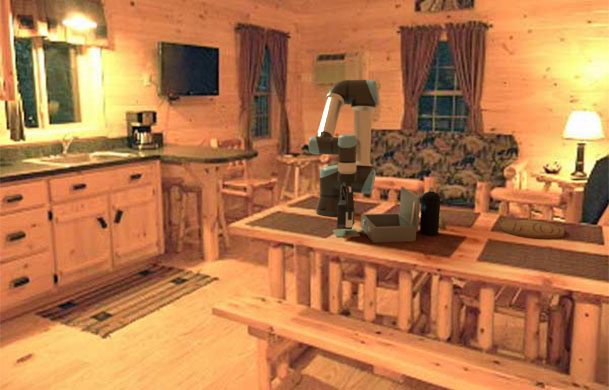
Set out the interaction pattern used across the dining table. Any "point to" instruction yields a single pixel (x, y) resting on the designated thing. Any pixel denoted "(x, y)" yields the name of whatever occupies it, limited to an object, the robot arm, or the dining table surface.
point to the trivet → (532, 229)
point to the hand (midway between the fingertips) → (346, 223)
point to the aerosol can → (430, 213)
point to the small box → (343, 215)
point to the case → (394, 221)
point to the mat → (346, 233)
